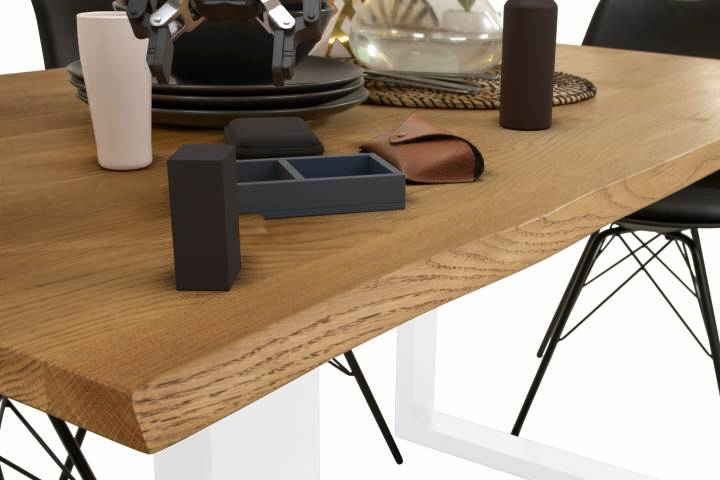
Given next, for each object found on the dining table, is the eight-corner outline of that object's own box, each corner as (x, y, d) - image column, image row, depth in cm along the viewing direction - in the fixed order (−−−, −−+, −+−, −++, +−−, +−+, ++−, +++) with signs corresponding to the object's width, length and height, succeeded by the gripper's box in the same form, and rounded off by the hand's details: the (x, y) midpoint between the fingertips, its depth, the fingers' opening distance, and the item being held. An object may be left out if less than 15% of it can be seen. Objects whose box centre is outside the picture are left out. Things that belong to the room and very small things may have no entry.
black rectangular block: (176, 290, 68) (166, 159, 65) (191, 267, 73) (183, 144, 70) (229, 290, 68) (222, 160, 65) (241, 267, 73) (235, 144, 70)
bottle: (555, 123, 132) (564, -38, 125) (547, 132, 126) (556, -37, 119) (504, 119, 133) (511, -40, 127) (493, 128, 127) (500, -38, 120)
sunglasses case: (351, 145, 113) (380, 92, 112) (402, 173, 116) (431, 122, 115) (406, 181, 97) (440, 120, 96) (462, 212, 101) (496, 154, 100)
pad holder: (405, 208, 90) (405, 174, 89) (194, 224, 83) (192, 187, 82) (374, 184, 98) (374, 152, 97) (180, 196, 92) (178, 163, 91)
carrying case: (214, 142, 115) (223, 171, 102) (212, 115, 114) (221, 141, 101) (307, 139, 118) (327, 167, 105) (306, 113, 117) (327, 137, 104)
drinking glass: (80, 172, 100) (64, 15, 95) (105, 158, 106) (90, 10, 101) (148, 174, 100) (135, 17, 95) (168, 159, 106) (157, 12, 101)
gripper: (136, -126, 77) (107, 44, 70) (323, -121, 77) (313, 48, 71) (158, -54, 84) (133, 108, 77) (330, -50, 84) (321, 111, 77)
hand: (219, 79), depth 74 cm, fingers open, 8 cm apart
